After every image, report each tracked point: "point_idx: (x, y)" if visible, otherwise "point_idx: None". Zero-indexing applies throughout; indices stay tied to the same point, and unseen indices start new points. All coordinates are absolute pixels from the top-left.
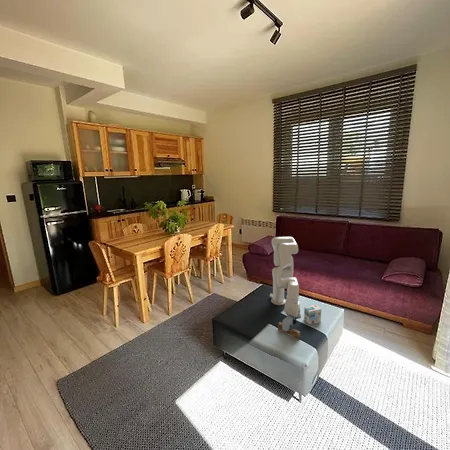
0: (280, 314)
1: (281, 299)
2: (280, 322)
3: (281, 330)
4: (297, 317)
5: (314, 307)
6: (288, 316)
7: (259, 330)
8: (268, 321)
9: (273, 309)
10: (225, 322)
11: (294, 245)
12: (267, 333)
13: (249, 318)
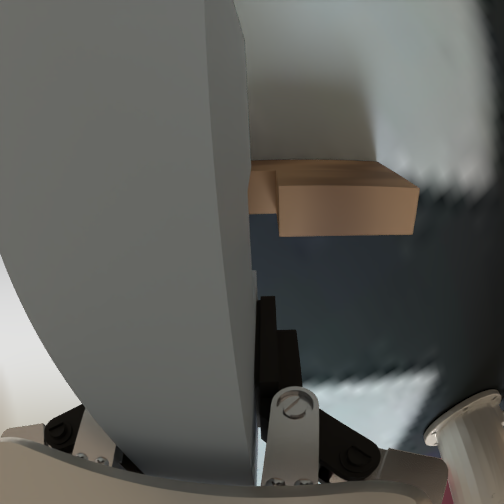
0: (434, 357)
1: (454, 442)
2: (400, 227)
3: (331, 160)
4: (47, 442)
5: None
6: (203, 421)
7: (494, 28)
8: (499, 212)
9: (485, 358)
10: None
11: None
12: (421, 16)
13: None
